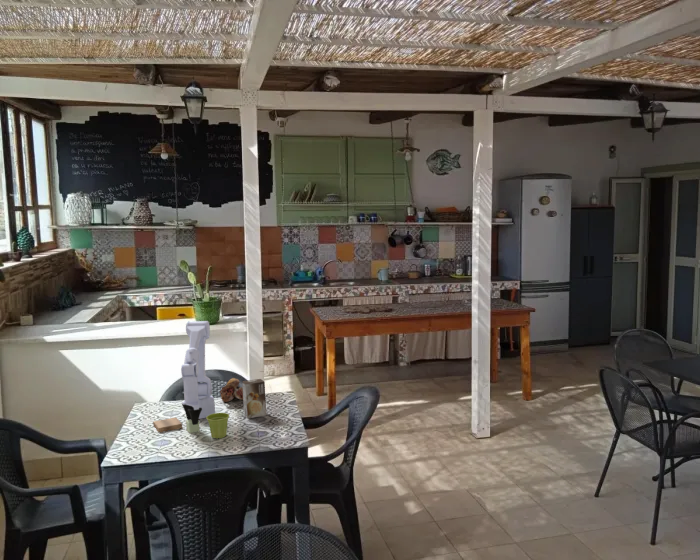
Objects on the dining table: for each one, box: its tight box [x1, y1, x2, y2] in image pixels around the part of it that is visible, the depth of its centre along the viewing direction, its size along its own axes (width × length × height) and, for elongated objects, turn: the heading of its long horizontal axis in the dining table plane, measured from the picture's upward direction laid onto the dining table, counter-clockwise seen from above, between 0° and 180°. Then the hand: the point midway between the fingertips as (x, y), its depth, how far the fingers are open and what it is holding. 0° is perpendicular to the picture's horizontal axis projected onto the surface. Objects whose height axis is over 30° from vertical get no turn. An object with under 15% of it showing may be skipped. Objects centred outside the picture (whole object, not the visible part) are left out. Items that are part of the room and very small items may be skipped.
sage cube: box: [185, 419, 200, 434], centre depth 263 cm, size 4×4×4 cm
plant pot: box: [205, 412, 230, 439], centre depth 255 cm, size 9×9×9 cm
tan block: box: [152, 417, 183, 433], centre depth 268 cm, size 10×10×2 cm
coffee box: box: [241, 378, 267, 419], centre depth 281 cm, size 9×6×16 cm
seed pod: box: [219, 377, 243, 403], centre depth 305 cm, size 13×16×15 cm
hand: (192, 421), depth 263 cm, fingers open, 7 cm apart
